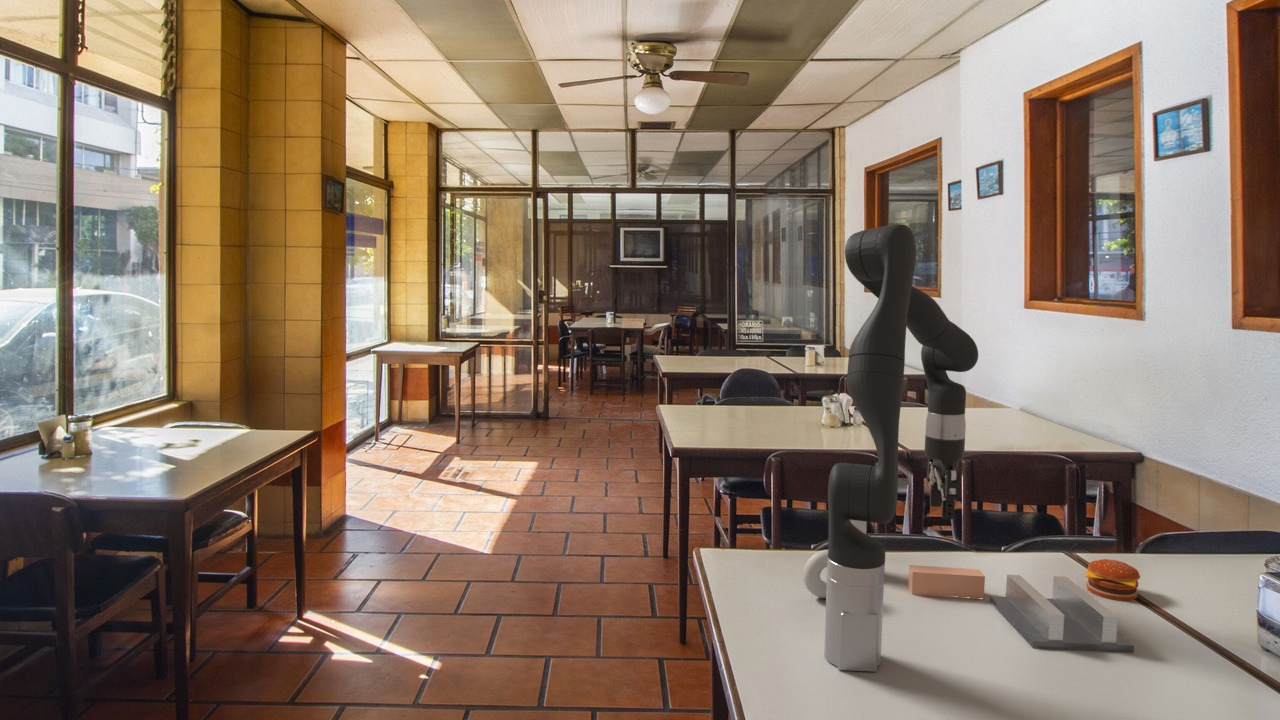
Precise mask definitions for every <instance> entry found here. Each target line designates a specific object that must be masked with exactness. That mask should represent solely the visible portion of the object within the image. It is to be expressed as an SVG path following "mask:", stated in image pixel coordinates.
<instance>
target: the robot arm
mask: <svg viewBox="0 0 1280 720" xmlns="http://www.w3.org/2000/svg"><path fill="white" fill-rule="evenodd" d="M844 259H845V263H846V267H847V268H848V270H849V272H850V273H851V275H852V276H853V277H854V278H855V279H856V281H858V282H859V283H860V284H861V285H862V286H864V287H865V288H866V289H867V290H868V291H869V292H870V293H872V294H873V295H874V296H875V297H876V298H877V299H878V300H877V302H876V304H875V305H874V308H873V310H872V311H871V313H870V314H869V316H868V317H867V319H866V320H865V322H864V323H863V325H862V326H861V327H860V329H859V330H858V332H857V334H856V335H855V337H854V339H853V341H852V343H851V345H850V347H849V351H848V352H849V353H848V361H847V371H846V372H847V373H846V375H847V376H846V388H847V391H848V393H849V396H850V397H851V400H852V402H853V404H854V406H855V407H856V409H857V411H858V412H859V414H860V416H861V417H862V419H863V421H864V423H865V424H866V427H867V429H868V431H869V433H870V436H871V438H872V440H873V442H874V446H875V449H876V454H877V458H878V463H877V465H870V464H869V465H868V464H859V463H851V462H850V463H848V462H838V463H835V464H834V465H833V466H832V468H831V470H830V473H829V475H828V476H829V477H828V489H827V503H828V505H827V506H828V544H827V548H828V549H827V550H828V565H827V567H826V568H827V569H826V572H827V573H826V581H827V590H826V598H825V599H826V600H825V623H824V658H825V659H826V661H828V662H829V663H830V664H832V665H833V666H835V667H837V669H838V670H839V671H854V672H855V671H856V672H857V671H858V672H875V673H876V672H877V671H878V667H879V666H880V665H881V659H882V640H883V638H882V636H883V618H884V617H883V616H884V615H883V613H884V593H885V592H884V591H885V588H884V587H885V572H886V571H885V570H886V549H885V548H886V547H885V545H884V544H883V543H882V542H881V541H880V540H878V539H876V538H874V537H872V536H871V535H869V534H867V533H866V534H865V533H863V532H861V531H860V530H859V529H857V528H856V527H855V526H854V525H853V524H852V523H851V521H850V519H851V520H857V521H865V522H867V523H875V524H890V522H892V521H893V519H894V517H895V514H896V511H897V505H898V504H897V503H898V491H899V489H898V487H899V486H898V485H899V434H900V433H899V431H900V429H899V428H900V417H901V407H902V396H903V387H904V380H905V379H904V375H905V364H906V363H905V362H906V359H905V358H906V341H907V340H906V338H907V329H908V331H909V332H910V333H911V335H912V336H913V338H914V339H915V340H916V341H917V342H918V344H920V345H922V347H921V350H920V358H921V363H922V369H923V372H924V375H925V381H926V385H927V391H928V396H927V397H928V400H927V414H926V420H925V434H924V435H925V436H924V452H923V453H924V455H925V456H926V457H927V472H926V473H927V474H926V483H928V486H929V488H930V489H929V490H930V492H929V505H930V507H935V508H936V507H937V508H940V507H941V518H942V519H943V520H954V518H955V503H956V501H958V502H959V501H960V495H961V470H960V469H957V468H955V462H957V461H961V460H963V459H964V457H965V449H966V448H965V446H966V445H965V444H966V429H967V428H966V423H967V422H966V405H967V404H966V403H967V402H966V400H967V390H966V387H965V386H964V385H963V384H961V383H958V382H956V381H954V380H951V378H950V377H949V375H948V373H947V371H948V372H956V373H964V372H968V371H970V370H972V369H973V368H974V367H975V366H976V364H977V362H978V360H979V350H978V346H977V344H976V342H975V340H974V338H972V337H971V336H970V335H969V334H968V333H967V332H966V331H964V329H963V328H961V327H959V326H958V325H957V324H955V323H954V322H953V321H950V319H949V317H947V315H946V314H945V312H944V310H943V309H942V308H941V306H940V305H939V304H938V303H937V301H936V299H934V298H933V297H931V296H930V295H929V294H927V293H926V292H925V291H923V290H921V289H918V288H917V287H915V286H913V283H914V275H915V269H916V261H917V260H916V259H917V243H916V239H915V235H914V233H913V231H912V229H911V228H910V227H909V226H907V225H906V224H902V223H898V224H897V223H896V224H890V225H889V224H888V225H884V226H878V227H875V228H874V227H873V228H868V229H863V230H860V231H857V232H854V233H853V234H851V235H850V236H849V237H848V238H847V241H846V242H845V246H844ZM950 492H951V493H950Z"/></svg>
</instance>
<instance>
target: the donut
mask: <svg viewBox="0 0 1280 720" xmlns="http://www.w3.org/2000/svg"><path fill="white" fill-rule="evenodd" d="M827 565H828V549H823V550H819V551H817V552H815V553H814V554H812V555H811V556H810V557H809V559H807V561H806V564H805V565H804V569H803V573H802V574H803V578H802V579H803V582H804V585H805V587H806V588H807V590H808V591H809V593H811V594H812V595H814V596H815V597H818V598H820V599H826V590H827V580H826V581H825V580H822V579H821V573H822V571H823V570H824V569H826V568H827Z"/></svg>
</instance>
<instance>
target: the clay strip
mask: <svg viewBox="0 0 1280 720" xmlns="http://www.w3.org/2000/svg"><path fill="white" fill-rule="evenodd" d="M907 580H908V581H907V583H908V585H907V586H908V587H907V588H908V590H909V592H910V594H911V595H912V594H913V596H926V595H931V597H940V596H958V597H970V598H983V599H982V600H984V599H985V587H986V586H985V583H986V576H985V575H984V573H983V572H982V571H981V569H979V568H977V569H976V568H960V567H945V566H932V565H931V566H930V565H918V564H917V565H915V564H912V565H911V564H909V565H908V579H907ZM914 594H915V595H914ZM970 598H969V599H970Z"/></svg>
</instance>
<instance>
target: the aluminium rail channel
mask: <svg viewBox="0 0 1280 720" xmlns="http://www.w3.org/2000/svg"><path fill="white" fill-rule="evenodd" d="M1052 581H1053V582H1052V598H1047V597H1046V596H1044V595H1043V594H1042V593H1041V592H1039V591H1038V590H1037V589H1036V588H1035V587H1034V586H1033V585H1031V584H1030V583H1029V582H1028V581H1027V580H1026V579H1025V578H1023V577H1022V576H1021V575H1020V574H1006V584H1005V585H1006V586H1005V596H991V595H990V597H989V603H990V602H991V603H992V604H993V605H994V606H995V607H996V608H995V607H994V606H993V605H992V604H991V603H990V604H991V605H992V606H993V607H994V608H995V609H996V610H997V611H998V612H999V614H1000V615H1001V614H1002V617H1003V618H1004V619H1005V620H1006V621H1007V622H1008V623H1009V624H1010V625H1011V626H1012V628H1013V629H1014V630H1015V631H1016V632H1017V633H1018V634H1019V635H1020V636H1021V637H1022V639H1024V640H1025V641H1026V642H1027V643H1028V645H1029V646H1030V647H1031V648H1032V649H1050V650H1052V649H1054V650H1073V651H1074V650H1075V651H1076V650H1078V651H1096V652H1097V651H1099V652H1100V651H1102V652H1119V653H1120V652H1122V653H1134V652H1135V645H1134V644H1133V643H1132V642H1131V641H1129V639H1127V638H1126V637H1125V636H1123V635H1122V634H1121V633H1119V632H1118V621H1119V617H1118V615H1116V614H1115V613H1114V612H1112V611H1111V610H1110V609H1109V608H1107V607H1106V606H1105V605H1103V604H1102V603H1100V602H1099V601H1098V600H1097V599H1096V598H1094V597H1093V596H1092V595H1091V594H1089V593H1088V592H1087V591H1085V590H1084V589H1083V588H1081V587H1080V585H1078V584H1076V583H1075V582H1074V581H1073V580H1071V579H1070V578H1068V577H1067V576H1061V575H1059V576H1057V575H1054V576H1053V580H1052Z"/></svg>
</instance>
